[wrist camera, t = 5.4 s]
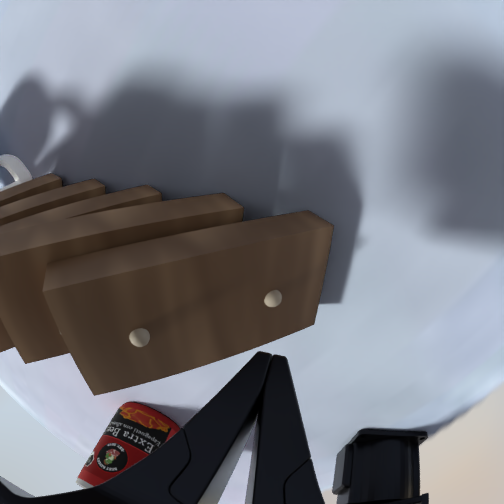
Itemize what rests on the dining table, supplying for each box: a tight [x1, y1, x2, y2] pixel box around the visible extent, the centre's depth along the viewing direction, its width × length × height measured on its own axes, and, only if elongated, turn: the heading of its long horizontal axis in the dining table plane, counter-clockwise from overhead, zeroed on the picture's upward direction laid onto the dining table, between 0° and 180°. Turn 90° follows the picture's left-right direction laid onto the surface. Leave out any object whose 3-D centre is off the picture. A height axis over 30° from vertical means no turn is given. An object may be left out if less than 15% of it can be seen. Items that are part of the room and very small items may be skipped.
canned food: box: [76, 402, 180, 489], centre depth 22 cm, size 8×8×11 cm
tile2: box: [0, 193, 244, 364], centre depth 11 cm, size 2×5×10 cm
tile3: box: [0, 185, 162, 352], centre depth 11 cm, size 2×5×10 cm
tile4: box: [0, 179, 106, 226], centre depth 11 cm, size 2×5×10 cm, turn 173°
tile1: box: [43, 210, 334, 396], centre depth 11 cm, size 2×5×10 cm
